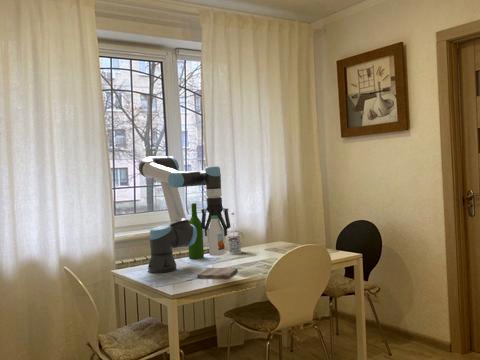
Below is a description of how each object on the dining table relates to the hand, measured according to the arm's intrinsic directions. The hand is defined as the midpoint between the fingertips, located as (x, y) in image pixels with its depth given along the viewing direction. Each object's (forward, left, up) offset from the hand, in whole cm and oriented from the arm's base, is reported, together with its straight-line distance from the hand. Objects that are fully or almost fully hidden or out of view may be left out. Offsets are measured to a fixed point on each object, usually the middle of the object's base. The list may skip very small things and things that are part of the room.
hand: (216, 242), depth 244 cm
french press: (-7, +58, -17) cm, 61 cm away
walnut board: (0, 0, -16) cm, 16 cm away
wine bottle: (-27, +41, -16) cm, 52 cm away
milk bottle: (0, 0, -6) cm, 6 cm away
